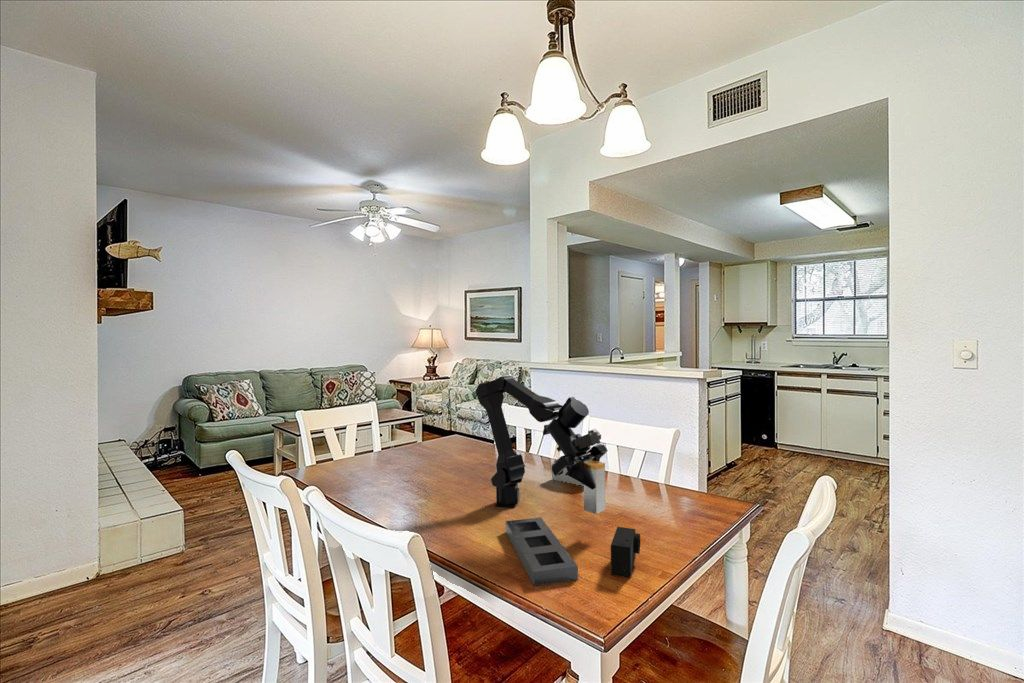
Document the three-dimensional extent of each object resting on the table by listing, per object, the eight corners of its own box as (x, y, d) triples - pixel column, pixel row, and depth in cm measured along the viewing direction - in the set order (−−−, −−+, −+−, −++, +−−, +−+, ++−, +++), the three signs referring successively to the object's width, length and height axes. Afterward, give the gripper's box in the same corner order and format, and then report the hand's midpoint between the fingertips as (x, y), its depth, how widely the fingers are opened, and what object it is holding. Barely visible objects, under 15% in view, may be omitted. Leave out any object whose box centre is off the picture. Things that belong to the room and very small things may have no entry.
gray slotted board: (505, 532, 129) (505, 521, 128) (541, 528, 131) (540, 517, 131) (534, 586, 101) (533, 572, 101) (578, 579, 104) (577, 566, 103)
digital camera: (636, 579, 103) (635, 548, 103) (610, 575, 105) (610, 544, 105) (640, 558, 113) (640, 529, 113) (617, 554, 115) (617, 526, 115)
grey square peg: (583, 510, 126) (583, 463, 125) (592, 505, 128) (592, 460, 128) (596, 514, 123) (596, 466, 122) (605, 509, 126) (605, 463, 125)
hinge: (599, 484, 166) (593, 460, 163) (592, 492, 163) (587, 468, 160) (559, 475, 177) (554, 452, 174) (552, 483, 174) (547, 459, 171)
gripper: (559, 425, 121) (596, 477, 114) (601, 415, 134) (636, 461, 127) (537, 450, 127) (570, 502, 119) (579, 438, 140) (611, 484, 133)
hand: (598, 486), depth 124 cm, fingers closed on grey square peg, 4 cm apart
